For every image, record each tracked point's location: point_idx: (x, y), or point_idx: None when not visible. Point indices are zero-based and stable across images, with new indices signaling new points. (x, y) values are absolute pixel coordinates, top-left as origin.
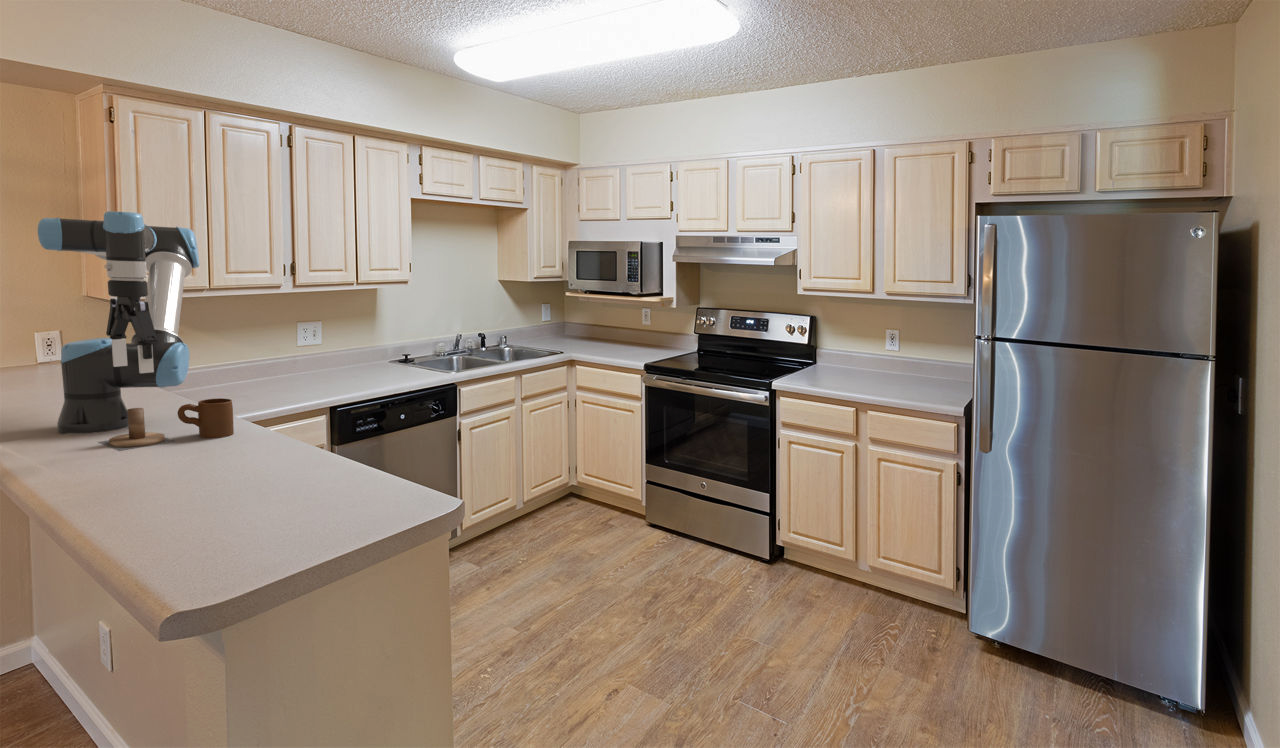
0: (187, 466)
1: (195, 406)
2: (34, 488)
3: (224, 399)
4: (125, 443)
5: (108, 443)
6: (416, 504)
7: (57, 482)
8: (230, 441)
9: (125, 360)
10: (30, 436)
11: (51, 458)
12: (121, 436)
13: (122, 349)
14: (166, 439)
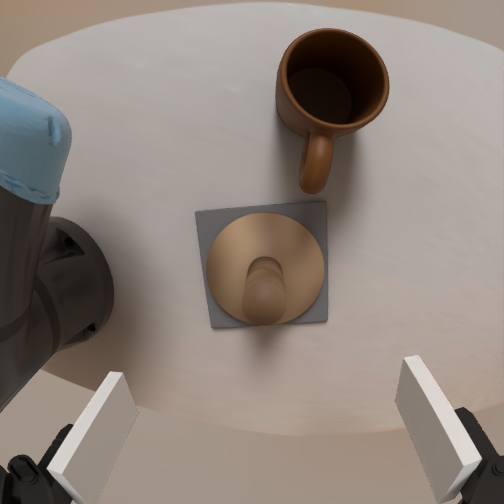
0: (492, 258)
1: (331, 142)
2: None
3: (308, 36)
4: (307, 308)
5: None
6: None
7: None
8: None
9: (114, 394)
10: (83, 369)
11: (276, 398)
12: (226, 294)
13: (94, 443)
14: (288, 212)
